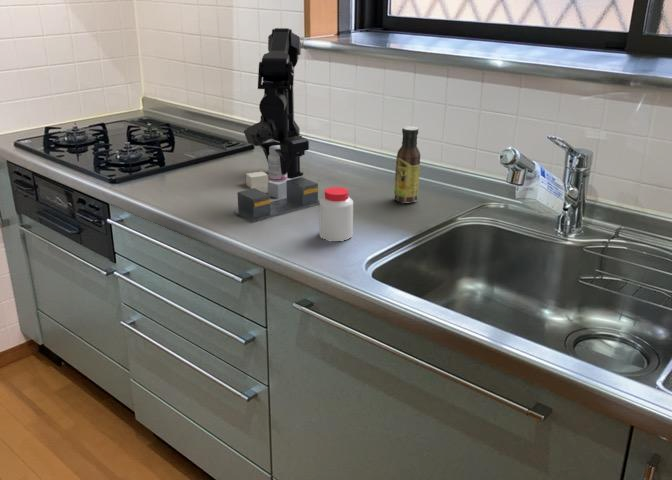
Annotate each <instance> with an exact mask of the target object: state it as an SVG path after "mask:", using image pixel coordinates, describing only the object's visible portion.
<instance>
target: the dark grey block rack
mask: <svg viewBox="0 0 672 480" xmlns="http://www.w3.org/2000/svg"><path fill="white" fill-rule="evenodd" d="M290 179H291V180H287V181H286V187H287V196H286V197H285V198H280V199H276V200H274V201H273V200H272V201H271V196H270V195H268V193H266V192H263V191H261V190H260V189H258V188H253V189H251V188H249V189H245V190H241V191H237V210H234V211H233V214H234V215H236V216H238V217H240V218H241V219H244V220H246V221H248V222H249V223H251V224H252V223H255V222H258V221H259V222H260V221H262V220H267V219H270V218H271V219H272V218H273V217H278V216H281V214H282V215H284V214H285V213H286V214H289V213H292V212H295V211H296V210H297V211H301V210H304V209H308V208H311V206H312V207H315V206H320V200H321V199H319V184H318V182H315V181H313V180H310V179H308V178H305V177H303V176H302V177H300V176H299V177H297V178H290Z"/></svg>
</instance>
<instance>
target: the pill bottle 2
mask: <svg viewBox="0 0 672 480" xmlns="http://www.w3.org/2000/svg"><path fill="white" fill-rule="evenodd" d="M349 194H350V193H349V189H348V188H345V187H341V186H340V187H339V186H334V187H333V186H332V187H328V188H325V189H324V196H323V197H322V198H320V199H319V200H320V204H319V237H320V238H321V239H322V238H323V239H322V240H324V239H326V240H331V241H341V240H346V239H349V238H350V237H352V238H353V236H352V235H354V234H353V232H354V229H353V228H354V201H353V199H352V198H351V197H350V196H349ZM326 240H325V241H326ZM349 240H350V239H349ZM331 241H330V242H331Z"/></svg>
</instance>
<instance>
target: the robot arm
mask: <svg viewBox="0 0 672 480" xmlns="http://www.w3.org/2000/svg"><path fill="white" fill-rule="evenodd" d="M267 38H268V39H267V50H268V52H266V53H264V54H263V55H262V58H261V61H259V62H258V74H257V76H258V77H257V90H264V91H263V96H262V98H261V100H260V102H259V104H258V105H259V106H258V108H259V112H260V121H259V122H256V123H254V124H252V125H250V126H249V127H247V128H245V129H244V130H243V134H244V137H245V138H246V139H245V140H246V141H247V143H248V145H249V144H250V145H253V146H255V147H259V148H261V149H262V151H263V153H264V156H265V158H266V162H267V163H268V155H269V154H270V153H269V147H271V146H276V145H280V148H281V149H276V150H275V151H276V152H277V153H278V154H279V156H280V165H281V172H282V175H285V174H286V173H287V178H290V179H292V178H295V177H300V176H303V175H304V173H303V172H302V171H301V159H300V158H301V157H303V156H305V154H306V153H305V151H309V149H310V141H309V140H308V138H305V137H303V135H300V133H301V132H300V127H299V125H298V124H297V122H296V121H295V107H294V106H295V103H294V100H295V99H294V98H295V97H294V82H295V81H294V80H295V79H294V78H295V68H296V66H297V65H298V60H299V56H301V53H302V51H301V49H302V47H301V45H302V44H301V38H300V36H299V35H297V34H296V33H294V32H293V30H292V28H291V29H290V28H287V27H286V28H285V27H283V28H281V27H280V28H279V27H277V28H276V27H275V28H272V29H271V33H270V34H269V35H268V37H267Z"/></svg>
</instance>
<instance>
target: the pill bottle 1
mask: <svg viewBox="0 0 672 480" xmlns="http://www.w3.org/2000/svg"><path fill="white" fill-rule="evenodd" d="M276 149H281V148H280V145H276V146H271V147H269V153H270V154H269V155H268V162H267V164H268V165H267V166H268V170H267V171H268V173H267V175H268V181H272V182H284V181H286V180H287V173H286V174H285V175H282V172H281V165H280V156H279V154H278V153H277V152H276V151H275V150H276Z"/></svg>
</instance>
